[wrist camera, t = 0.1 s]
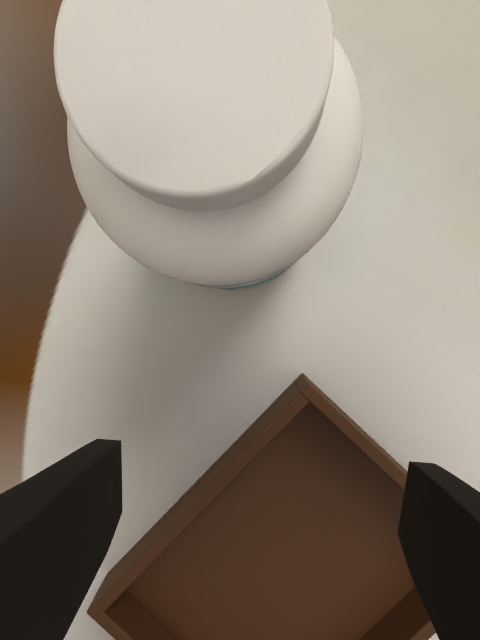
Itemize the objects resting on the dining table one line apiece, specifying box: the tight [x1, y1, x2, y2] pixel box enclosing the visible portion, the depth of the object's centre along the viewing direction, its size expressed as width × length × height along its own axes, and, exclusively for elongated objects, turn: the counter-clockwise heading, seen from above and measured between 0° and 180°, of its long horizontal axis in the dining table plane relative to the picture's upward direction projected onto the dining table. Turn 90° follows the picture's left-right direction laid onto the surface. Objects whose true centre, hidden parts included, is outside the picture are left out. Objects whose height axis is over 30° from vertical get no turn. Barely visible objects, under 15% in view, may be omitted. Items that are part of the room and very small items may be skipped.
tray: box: [87, 373, 436, 640], centre depth 19 cm, size 15×12×3 cm
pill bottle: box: [54, 0, 363, 290], centre depth 13 cm, size 8×7×14 cm
